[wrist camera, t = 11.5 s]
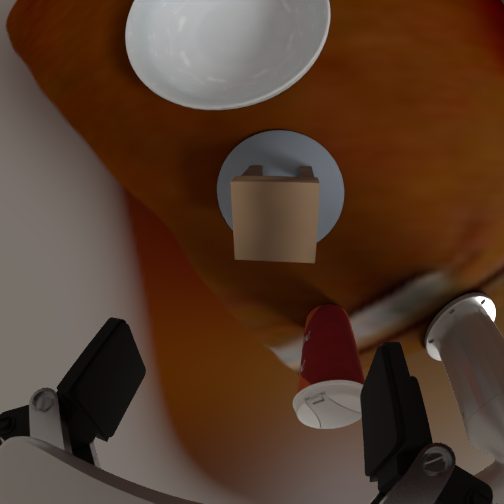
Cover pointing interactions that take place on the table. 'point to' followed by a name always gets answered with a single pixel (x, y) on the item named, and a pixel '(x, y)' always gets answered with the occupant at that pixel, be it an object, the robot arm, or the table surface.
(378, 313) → the table surface
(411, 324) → the table surface
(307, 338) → the paper cup
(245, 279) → the table surface
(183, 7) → the cereal bowl
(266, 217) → the stool
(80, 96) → the table surface
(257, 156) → the mat
